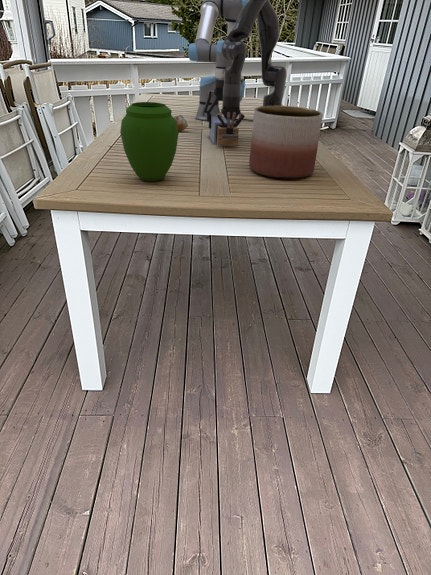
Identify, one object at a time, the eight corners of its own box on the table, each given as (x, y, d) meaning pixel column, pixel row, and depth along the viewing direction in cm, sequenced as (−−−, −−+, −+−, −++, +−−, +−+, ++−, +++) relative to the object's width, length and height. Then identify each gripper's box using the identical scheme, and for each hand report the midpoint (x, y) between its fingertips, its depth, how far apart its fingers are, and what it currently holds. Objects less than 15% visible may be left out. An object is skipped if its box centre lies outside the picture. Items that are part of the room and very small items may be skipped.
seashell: (187, 130, 219) (187, 114, 215) (188, 132, 214) (188, 116, 210) (169, 129, 218) (169, 113, 214) (170, 131, 213) (169, 115, 209)
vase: (131, 189, 135) (125, 110, 122) (118, 172, 150) (112, 100, 137) (186, 184, 142) (187, 109, 129) (169, 168, 157) (167, 99, 144)
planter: (323, 180, 153) (335, 117, 141) (257, 181, 149) (264, 116, 137) (300, 162, 174) (309, 106, 162) (242, 162, 170) (247, 104, 158)
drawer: (239, 148, 186) (241, 130, 182) (219, 148, 185) (220, 130, 180) (231, 138, 202) (232, 122, 198) (212, 138, 201) (213, 121, 197)
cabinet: (235, 144, 197) (237, 123, 192) (213, 144, 195) (214, 122, 190) (229, 136, 210) (230, 116, 205) (209, 136, 209) (209, 116, 203)
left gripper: (199, 78, 187) (198, 129, 199) (249, 80, 191) (245, 130, 203) (198, 77, 194) (197, 126, 205) (245, 78, 197) (242, 127, 209)
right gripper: (217, 95, 171) (216, 138, 181) (248, 96, 173) (245, 138, 183) (215, 93, 178) (213, 134, 187) (244, 93, 179) (242, 134, 189)
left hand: (221, 128), depth 204 cm, fingers closed on cabinet, 11 cm apart
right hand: (229, 136), depth 185 cm, fingers closed
